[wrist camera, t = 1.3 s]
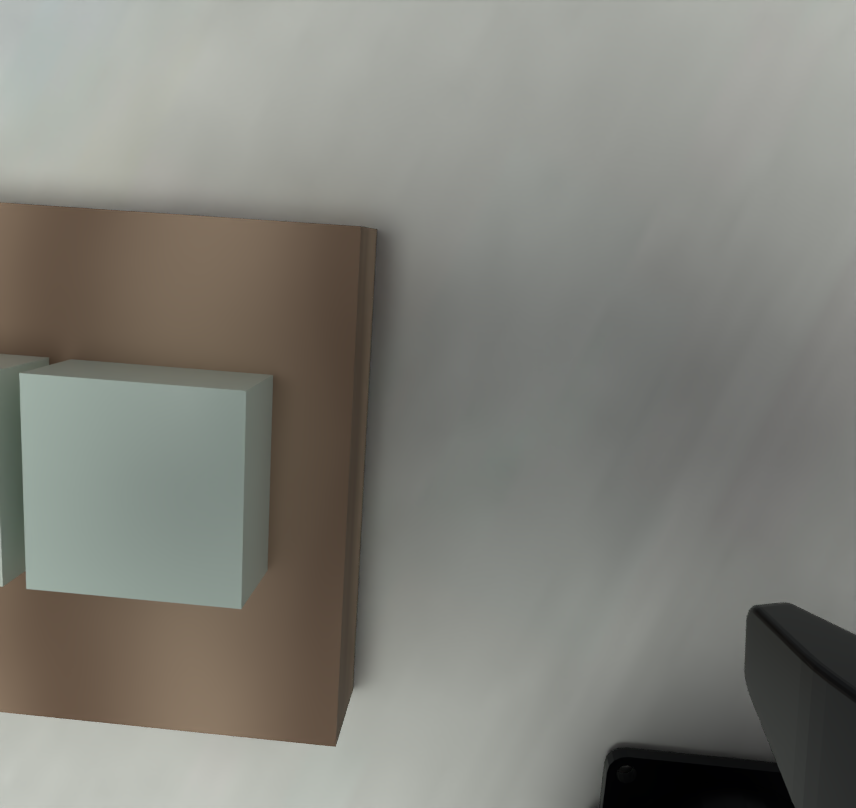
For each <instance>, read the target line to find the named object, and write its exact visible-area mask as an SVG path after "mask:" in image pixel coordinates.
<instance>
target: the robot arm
mask: <svg viewBox="0 0 856 808" xmlns="http://www.w3.org/2000/svg"><path fill="white" fill-rule="evenodd" d="M744 672H745V680H746V685H747V689H748V692H749V695H750V697H751V700H752V702H753V705H754V707H755V710H756V712H757V715H758V717H759V720H760V722H761V725H762V727H763V730H764V732H765V735H766V737H767V740H768V742H769V745H770V747H771V750H772V752H773V755H774V757H775V760H776V762H777V763H774V762H764V761H754V760H744V759H734V758H724V757H715V756H705V755H695V754H685V753H675V752H665V751H655V750H646V749H636V748H617V749H615V750H613V751H611V752H610V753H609V754H608V756H607V757H606V760H605V763H604V771H603V779H602V788H601V796H600V804H599V808H856V635H855V634H853V633H851V632H849V631H847V630H845V629H843V628H840V627H838V626H836V625H834V624H832V623H830V622H828V621H826V620H824V619H822V618H820V617H818V616H816V615H814V614H811V613H809V612H807V611H805V610H803V609H801V608H799V607H797V606H795V605H793V604H790V603H784V602H783V603H772V604H762V605H754V606H753V607H751V608H750V610H749V612H748V615H747V620H746V643H745V667H744ZM627 765H628V766H631V767H633V769H632V770H631V771H630V772H628V773H620V772H618V771H617V770H618V769H619V768H620V767H622V766H627Z"/></svg>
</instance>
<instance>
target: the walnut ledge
mask: <svg viewBox="0 0 856 808" xmlns="http://www.w3.org/2000/svg"><path fill="white" fill-rule="evenodd" d="M376 239H377V229H372V228H367V227H361V226H346V225H331V224H316V223H301V222H286V221H271V220H256V219H240V218H225V217H210V216H195V215H180V214H165V213H150V212H135V211H120V210H105V209H89V208H74V207H59V206H44V205H29V204H14V203H0V354H9V355H22V356H35V357H48V358H49V365H51V364H55V363H59V362H63V361H66V360H70V359H74V360H87V361H100V362H113V363H126V364H139V365H152V366H165V367H178V368H191V369H204V370H216V371H229V372H242V373H255V374H268V375H273V399H272V433H271V467H270V502H269V536H268V570H267V572H266V573H265V575H264V576H263V578H262V579H261V581H260V582H259V584H258V585H257V587H256V588H255V590H254V591H253V593H252V594H251V596H250V597H249V598H248V600H247V601H246V603H245V604H244V606H243V607H242V609H234V608H224V607H213V606H202V605H192V604H181V603H171V602H160V601H149V600H139V599H128V598H118V597H107V596H96V595H86V594H75V593H65V592H54V591H43V590H33V589H26V571H25V572H23V573H22V574H20V575H19V576H17V577H16V578H15V579H13V580H12V581H10V582H9V583H7V584H6V585H5V586H3V587H1V586H0V712H6V713H16V714H26V715H35V716H45V717H55V718H64V719H74V720H83V721H93V722H103V723H112V724H122V725H132V726H141V727H151V728H161V729H170V730H180V731H190V732H199V733H209V734H219V735H228V736H238V737H248V738H257V739H267V740H277V741H286V742H296V743H306V744H315V745H325V746H335V747H336V744H337V740H338V737H339V734H340V730H341V727H342V724H343V721H344V717H345V714H346V711H347V707H348V704H349V701H350V697H351V694H352V691H353V677H354V658H355V639H356V620H357V601H358V582H359V562H360V543H361V524H362V505H363V486H364V467H365V448H366V429H367V410H368V391H369V372H370V353H371V334H372V315H373V296H374V277H375V258H376Z"/></svg>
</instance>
